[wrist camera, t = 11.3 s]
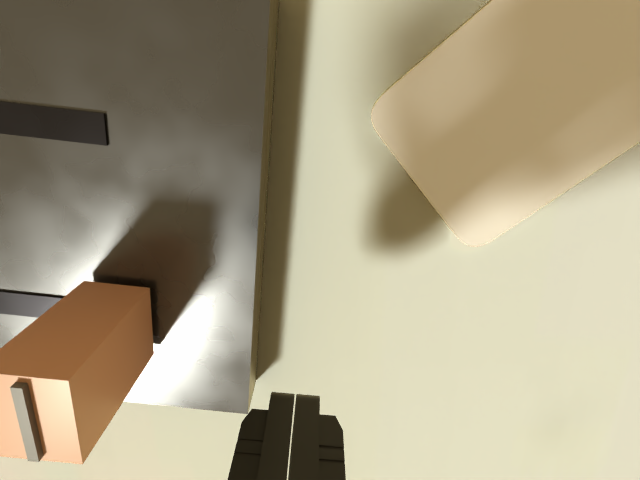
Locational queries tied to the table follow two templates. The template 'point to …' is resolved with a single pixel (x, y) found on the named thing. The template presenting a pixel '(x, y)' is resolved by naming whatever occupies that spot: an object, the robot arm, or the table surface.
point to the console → (142, 175)
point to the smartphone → (516, 109)
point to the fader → (73, 371)
